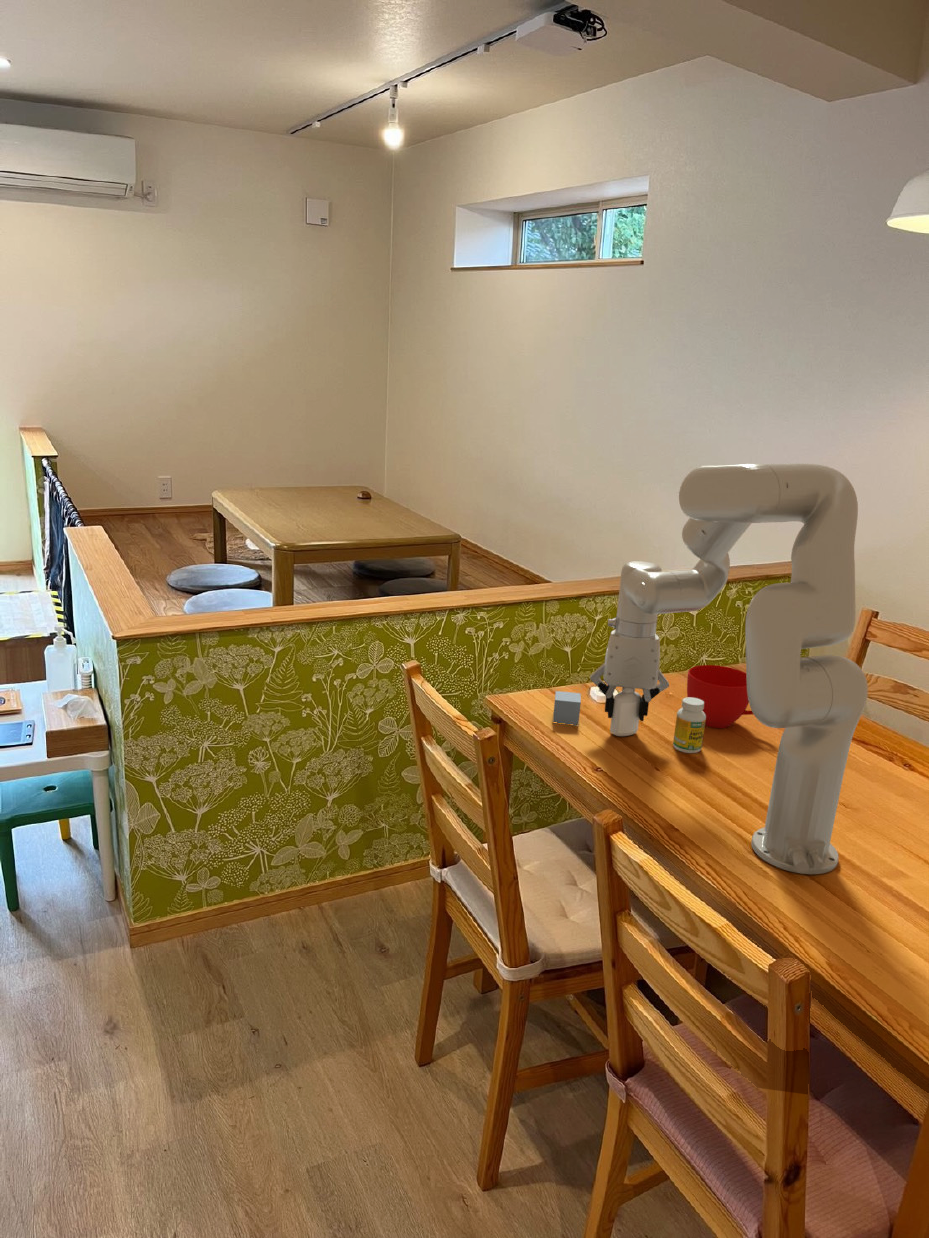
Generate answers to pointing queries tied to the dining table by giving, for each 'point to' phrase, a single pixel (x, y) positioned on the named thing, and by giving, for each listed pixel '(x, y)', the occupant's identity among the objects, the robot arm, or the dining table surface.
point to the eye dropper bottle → (625, 712)
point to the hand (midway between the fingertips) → (625, 716)
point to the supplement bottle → (689, 726)
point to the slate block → (567, 707)
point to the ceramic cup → (719, 693)
